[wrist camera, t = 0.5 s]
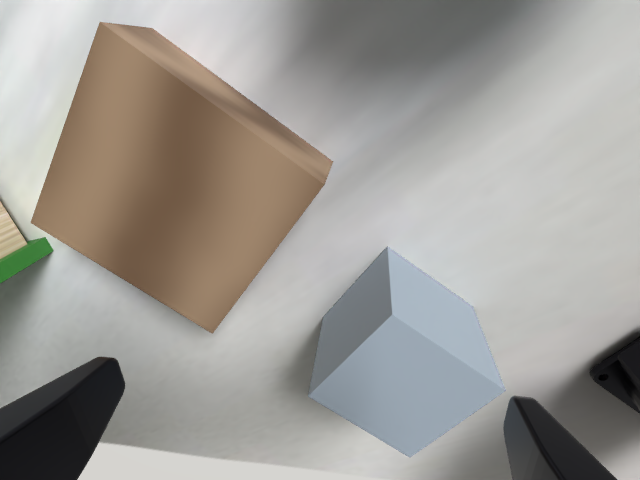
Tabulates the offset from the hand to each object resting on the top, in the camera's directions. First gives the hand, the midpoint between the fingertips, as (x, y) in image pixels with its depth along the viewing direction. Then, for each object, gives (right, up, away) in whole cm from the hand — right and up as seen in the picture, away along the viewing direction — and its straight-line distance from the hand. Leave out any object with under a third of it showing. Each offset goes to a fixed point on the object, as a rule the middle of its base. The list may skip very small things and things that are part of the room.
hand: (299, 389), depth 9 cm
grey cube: (+5, -1, +13) cm, 14 cm away
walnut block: (-6, +7, +12) cm, 15 cm away
